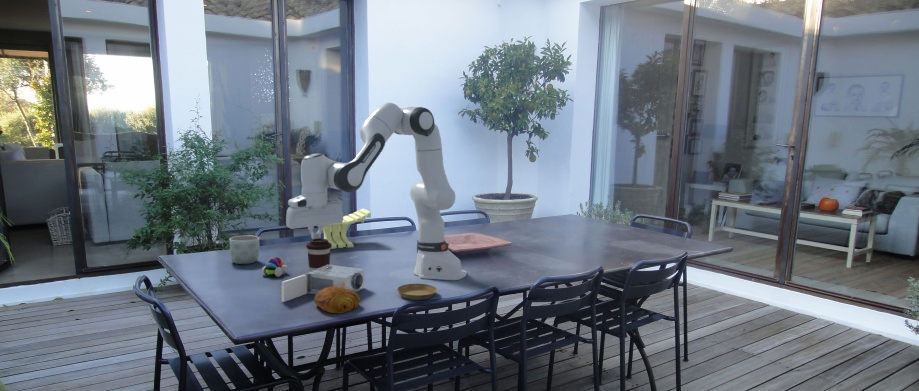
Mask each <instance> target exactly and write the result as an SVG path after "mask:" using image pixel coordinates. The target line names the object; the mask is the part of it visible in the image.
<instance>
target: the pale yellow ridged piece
mask: <svg viewBox="0 0 919 391" xmlns="http://www.w3.org/2000/svg"><path fill="white" fill-rule="evenodd" d="M371 215H372V212H371V211H370V210H368V209H366V208H361V209H358V210H357V211H355V212H353V213H349V214H348V215H343V221H342V223H337V224H329V225H324V228H323V230H322V233H323V239H327V240H328V242H330V243H331V244H332V247H331V248H330V250H333V249H344V248H343V247H346V248H354V247H355V246H354V243H353V242H351V241H350V240H349V239H348V237H347V232H348V229H349V226H350V225H352V224H355V223H359V222H360V223H365V220H366V218H371V217H372V216H371ZM353 246H354V247H353Z"/></svg>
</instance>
